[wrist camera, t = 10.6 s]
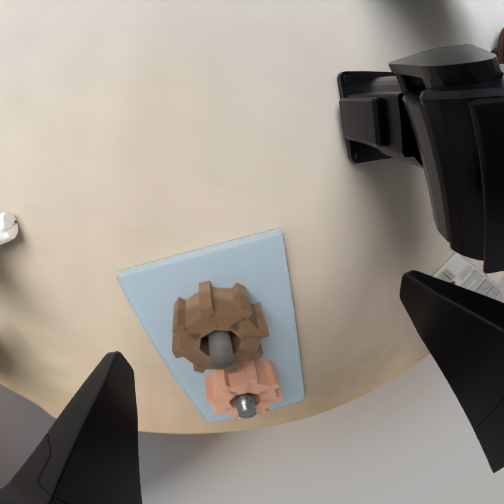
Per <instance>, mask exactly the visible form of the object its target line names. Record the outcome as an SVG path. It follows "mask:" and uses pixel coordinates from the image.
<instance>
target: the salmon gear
mask: <svg viewBox="0 0 504 504" xmlns="http://www.w3.org/2000/svg"><path fill="white" fill-rule="evenodd" d="M205 389H206V400H207V404H212V407H213V413H214V414H216V415H218V416H219V415H222V414H227V415H232V416H235V419H243V418H241V417H239V416H238V411H237V405H236V399H235V396H236V395H240V394H244V393H248V392H249V393H252V394H253V398H254V403H255V407H256V411H257V413H261V414H264V413H266V412H268V411H269V410H268V407H269V406H271V405H272V404H273V403H274V402H281V400H282V398H283V396H282V393H281V389H280V384H279V381H278V377H277V374H276V371H275V368H274V364H273V362H272V361H271V360H270V359H269V358H268V359H267V360H265V361H260V360H258V361H257V360H253V359H250V360H248V361H247V362H245V363H243V364H241V365H239V366H237V372H234V373H230V374H227V372H226V370H214V371H213V373H212V374H205Z"/></svg>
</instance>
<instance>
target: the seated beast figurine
mask: <svg viewBox="0 0 504 504" xmlns="http://www.w3.org/2000/svg"><path fill="white" fill-rule="evenodd" d="M15 220H16V218H15V217H14V215H13V214H12V213H10V212H6V213H1V214H0V245H2V244H4V243H6V242H9V241H11V240H12V239H14V238H15V237H16V235H17V233H18V224H17V223H15Z"/></svg>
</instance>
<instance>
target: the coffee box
mask: <svg viewBox="0 0 504 504" xmlns="http://www.w3.org/2000/svg"><path fill="white" fill-rule="evenodd" d="M433 277H435V278H438V279H441V280H444V281H447V282H450V283H452V284H455V285H458V286H461V287H463V288H466V289H469V290H472V291H474V292H477V293H480V294H482V295H485V296H488V297H490V298H493V299H495V300H498V301H501V302H503V303H504V290H503V289H502V288H501V287H500V286H498V285H497V284H496V283H495V282H494V281H493V280H491V279H490V278H489V277H488V276H486V275H485V274H484V273H483V272H481V271H480V270H479V269H478V268H476V267H475V266H474V265H473V264H471V263H470V262H469V261H468V260H466V259H465V258H464V257H462V256H461V255H460V254H458V253H455V254H454V255H453V256H452V257H451V258H450V259H449V260H448V261H447V262H446V263H445V264H444V265H443V266H442V267H441V268H440V269H439V270H438V271H437V272H436V273H435V274H434V275H433Z"/></svg>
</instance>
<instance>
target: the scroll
mask: <svg viewBox="0 0 504 504" xmlns="http://www.w3.org/2000/svg"><path fill="white" fill-rule="evenodd" d="M491 53H494V54H495V55H497V57H498V58H499V64H504V28H503V29H502V30H501V33H500V36H499V44H498V48H496V49H493V50H492V51H491Z"/></svg>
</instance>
